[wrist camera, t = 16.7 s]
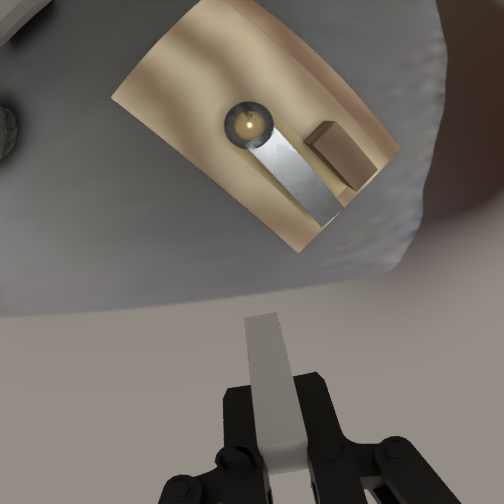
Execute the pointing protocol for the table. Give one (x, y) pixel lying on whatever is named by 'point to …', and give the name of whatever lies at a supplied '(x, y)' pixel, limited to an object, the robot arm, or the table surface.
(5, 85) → the table surface
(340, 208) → the latch bar
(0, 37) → the alarm clock
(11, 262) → the table surface
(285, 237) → the board
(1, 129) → the mortar and pestle
